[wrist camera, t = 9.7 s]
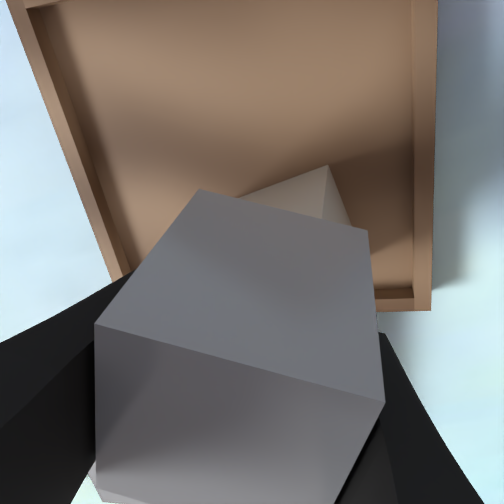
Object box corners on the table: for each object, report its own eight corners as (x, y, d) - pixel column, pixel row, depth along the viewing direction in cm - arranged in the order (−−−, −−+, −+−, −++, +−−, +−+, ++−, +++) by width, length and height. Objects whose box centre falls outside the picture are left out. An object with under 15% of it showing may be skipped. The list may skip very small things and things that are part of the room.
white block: (229, 201, 17) (188, 269, 13) (328, 164, 15) (320, 226, 11) (270, 284, 18) (247, 369, 14) (364, 257, 17) (369, 343, 13)
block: (198, 188, 10) (94, 323, 6) (367, 230, 10) (386, 402, 6) (182, 318, 12) (96, 488, 8) (321, 355, 12) (309, 551, 8)
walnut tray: (25, -9, 15) (1, -10, 14) (432, -109, 12) (440, -119, 11) (136, 302, 21) (126, 318, 20) (426, 292, 18) (431, 310, 17)
